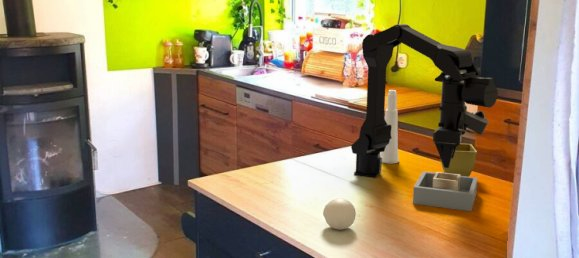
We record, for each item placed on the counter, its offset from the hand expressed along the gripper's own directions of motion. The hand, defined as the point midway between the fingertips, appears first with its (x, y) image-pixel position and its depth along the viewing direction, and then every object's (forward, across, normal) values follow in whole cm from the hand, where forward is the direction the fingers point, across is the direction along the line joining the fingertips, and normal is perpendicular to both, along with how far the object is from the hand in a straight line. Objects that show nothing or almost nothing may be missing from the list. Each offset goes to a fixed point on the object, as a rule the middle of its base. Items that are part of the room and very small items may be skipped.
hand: (448, 162), depth 151 cm
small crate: (+9, 0, 0) cm, 9 cm away
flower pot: (+10, +19, 0) cm, 21 cm away
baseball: (+10, -29, +20) cm, 36 cm away
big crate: (+10, 0, 0) cm, 10 cm away
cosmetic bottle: (+10, +28, +21) cm, 36 cm away
